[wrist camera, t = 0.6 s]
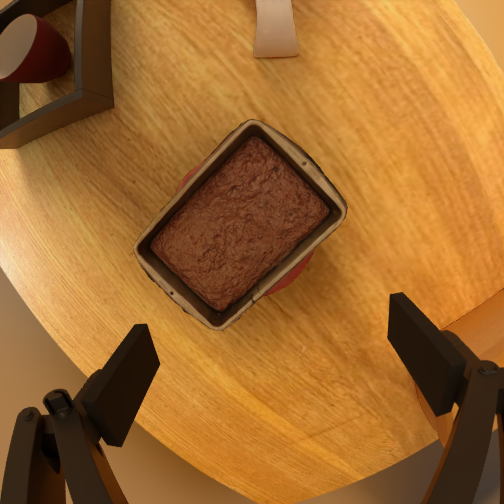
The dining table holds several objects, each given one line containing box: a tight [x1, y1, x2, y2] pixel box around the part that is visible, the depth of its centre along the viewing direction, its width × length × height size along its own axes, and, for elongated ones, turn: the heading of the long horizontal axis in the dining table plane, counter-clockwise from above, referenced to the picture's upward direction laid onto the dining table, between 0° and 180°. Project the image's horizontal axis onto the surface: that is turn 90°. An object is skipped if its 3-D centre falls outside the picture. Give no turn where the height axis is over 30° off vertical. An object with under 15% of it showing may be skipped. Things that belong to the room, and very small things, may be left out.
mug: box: [0, 14, 71, 83], centre depth 22 cm, size 10×8×10 cm
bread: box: [415, 289, 504, 448], centre depth 29 cm, size 24×13×15 cm, turn 116°
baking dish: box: [133, 119, 348, 331], centre depth 29 cm, size 14×18×10 cm
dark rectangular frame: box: [0, 0, 114, 149], centre depth 24 cm, size 21×17×7 cm
